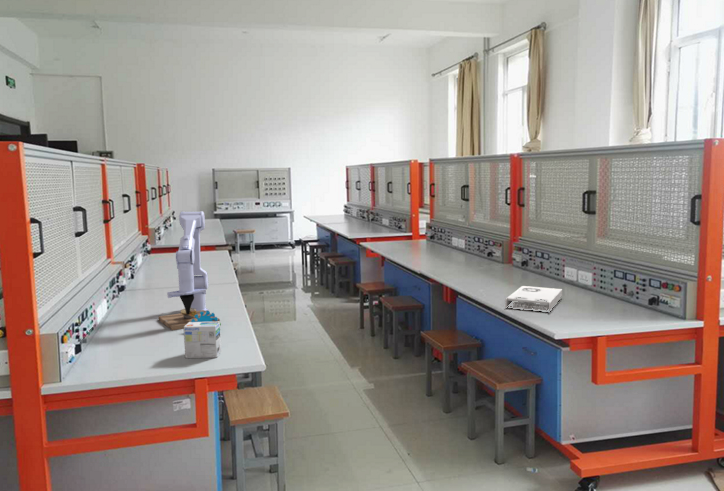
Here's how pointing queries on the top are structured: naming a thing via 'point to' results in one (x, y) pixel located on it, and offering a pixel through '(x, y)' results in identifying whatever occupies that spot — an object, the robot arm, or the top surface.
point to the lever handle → (192, 312)
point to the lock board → (180, 320)
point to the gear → (205, 317)
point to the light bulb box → (202, 339)
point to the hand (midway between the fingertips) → (187, 313)
